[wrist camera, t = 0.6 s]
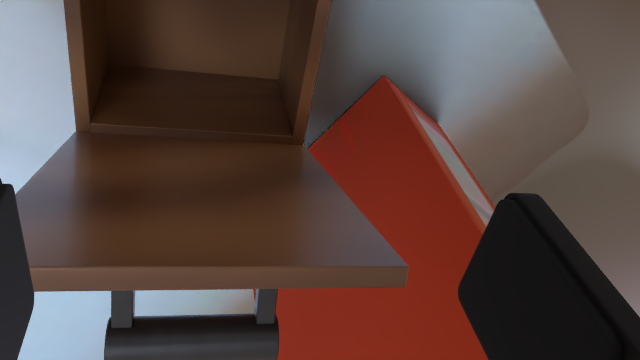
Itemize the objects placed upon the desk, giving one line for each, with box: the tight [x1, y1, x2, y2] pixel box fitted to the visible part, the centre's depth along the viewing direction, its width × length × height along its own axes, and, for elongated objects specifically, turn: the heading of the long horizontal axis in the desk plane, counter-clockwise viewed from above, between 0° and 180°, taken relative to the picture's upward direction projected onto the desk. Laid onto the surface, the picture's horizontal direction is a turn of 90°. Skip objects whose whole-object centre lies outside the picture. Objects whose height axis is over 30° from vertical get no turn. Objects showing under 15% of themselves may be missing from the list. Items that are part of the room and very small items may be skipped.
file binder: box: [253, 76, 495, 360], centre depth 35 cm, size 8×17×32 cm, turn 135°
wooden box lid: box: [15, 132, 409, 360], centre depth 25 cm, size 17×14×5 cm
